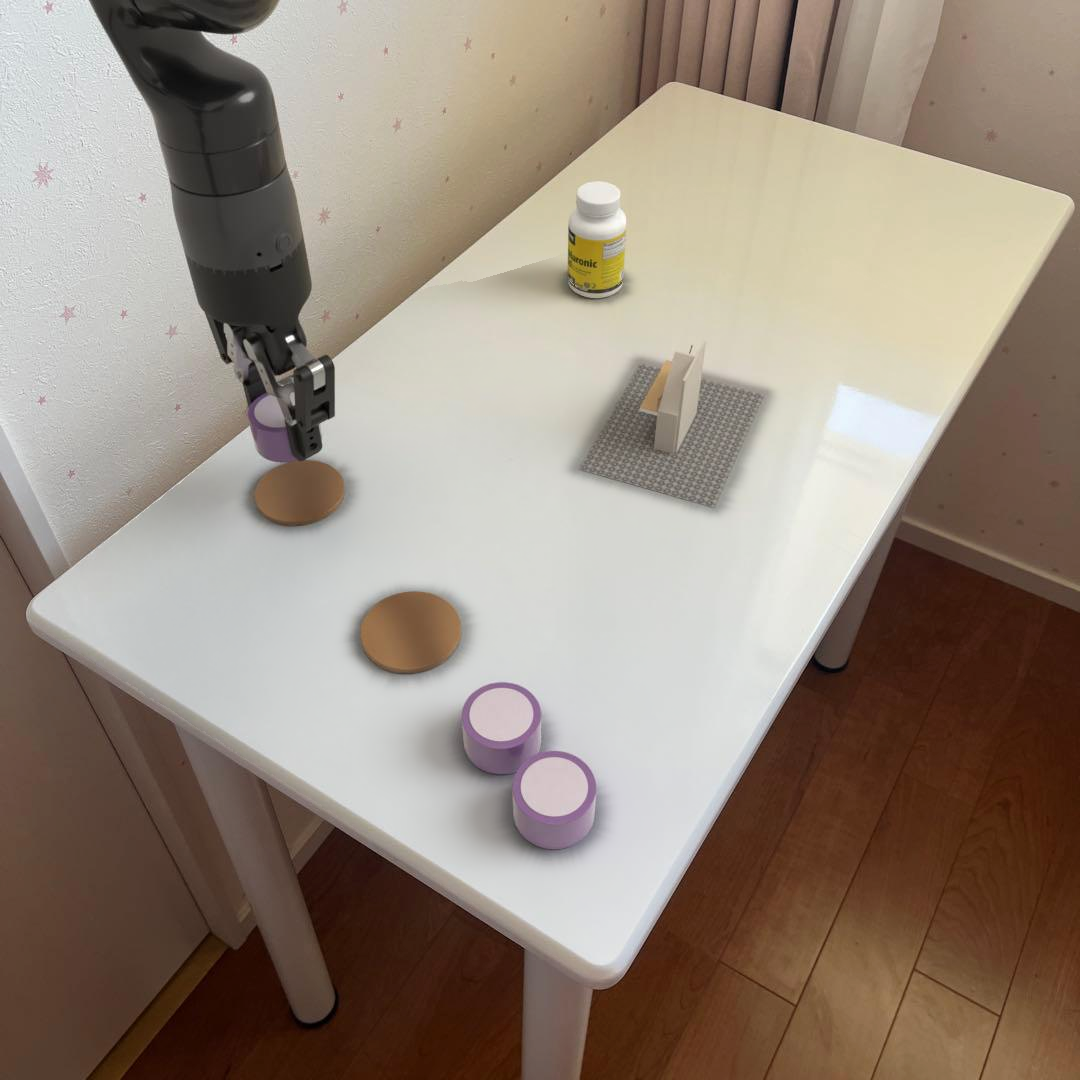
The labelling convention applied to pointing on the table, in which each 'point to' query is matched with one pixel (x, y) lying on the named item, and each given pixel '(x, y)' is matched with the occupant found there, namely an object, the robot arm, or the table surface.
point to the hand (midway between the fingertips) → (287, 434)
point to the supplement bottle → (596, 241)
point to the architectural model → (675, 431)
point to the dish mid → (501, 727)
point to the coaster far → (299, 492)
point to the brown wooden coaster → (410, 632)
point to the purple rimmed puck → (554, 799)
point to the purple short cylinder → (270, 429)
